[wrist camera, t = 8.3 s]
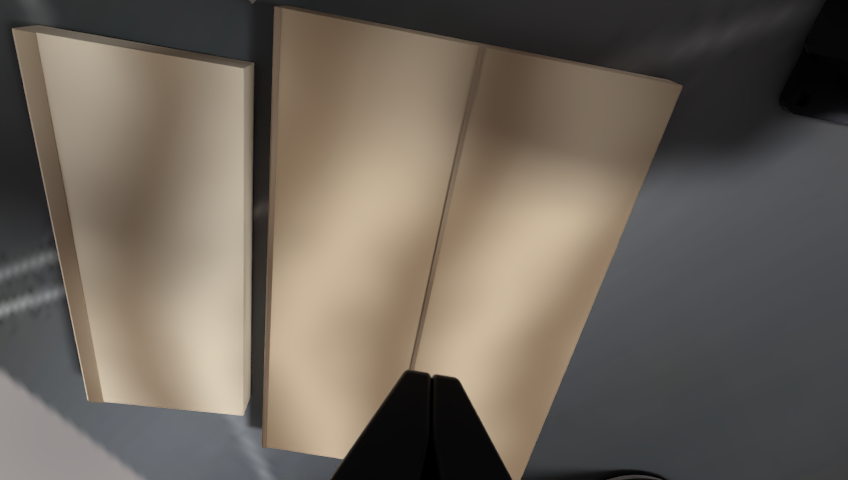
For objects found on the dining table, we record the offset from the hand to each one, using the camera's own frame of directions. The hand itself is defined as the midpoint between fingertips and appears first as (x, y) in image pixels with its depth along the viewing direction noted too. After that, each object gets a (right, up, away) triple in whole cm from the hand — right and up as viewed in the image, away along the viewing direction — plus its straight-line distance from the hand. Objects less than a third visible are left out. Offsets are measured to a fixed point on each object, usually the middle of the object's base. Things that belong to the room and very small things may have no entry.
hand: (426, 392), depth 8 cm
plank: (-11, +2, +13) cm, 17 cm away
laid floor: (0, 0, +13) cm, 13 cm away
